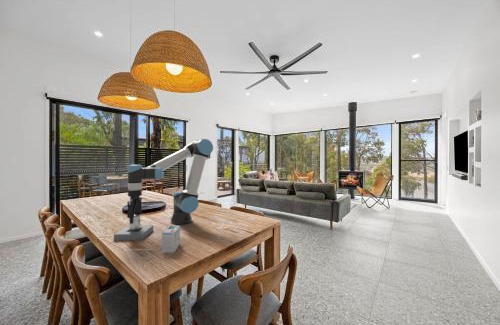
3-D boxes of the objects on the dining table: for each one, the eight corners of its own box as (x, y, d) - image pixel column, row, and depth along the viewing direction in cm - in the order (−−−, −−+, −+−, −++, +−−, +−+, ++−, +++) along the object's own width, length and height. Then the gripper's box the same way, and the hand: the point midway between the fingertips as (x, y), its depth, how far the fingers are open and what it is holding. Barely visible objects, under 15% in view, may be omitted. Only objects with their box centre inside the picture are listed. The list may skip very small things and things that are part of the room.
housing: (153, 231, 137) (153, 225, 137) (142, 240, 121) (142, 234, 121) (128, 231, 136) (128, 225, 136) (113, 241, 120) (113, 234, 120)
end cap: (142, 233, 132) (142, 214, 131) (137, 236, 126) (137, 216, 125) (132, 233, 131) (132, 214, 131) (127, 237, 125) (127, 217, 125)
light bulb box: (167, 244, 116) (168, 225, 116) (180, 244, 117) (180, 225, 117) (161, 253, 106) (161, 232, 106) (174, 252, 106) (175, 231, 106)
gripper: (136, 187, 137) (136, 222, 138) (120, 191, 118) (120, 232, 119) (147, 187, 138) (147, 221, 138) (133, 191, 119) (133, 231, 119)
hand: (134, 226), depth 128 cm, fingers closed on end cap, 6 cm apart
